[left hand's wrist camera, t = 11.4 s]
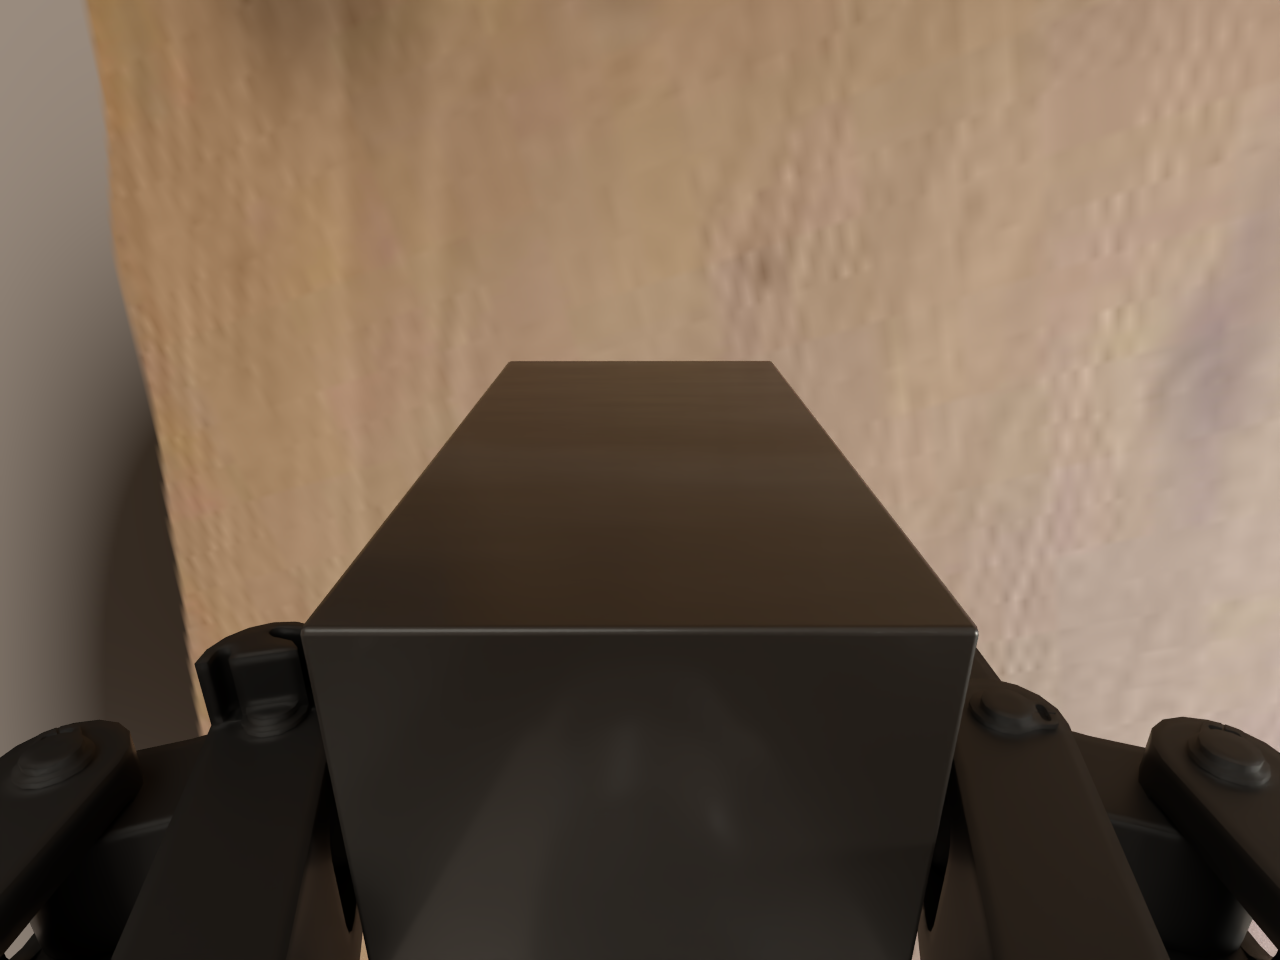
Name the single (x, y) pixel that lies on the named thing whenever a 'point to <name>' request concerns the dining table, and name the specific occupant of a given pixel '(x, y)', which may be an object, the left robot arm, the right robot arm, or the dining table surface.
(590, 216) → the dining table surface
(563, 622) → the bar
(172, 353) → the dining table surface
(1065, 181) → the dining table surface
